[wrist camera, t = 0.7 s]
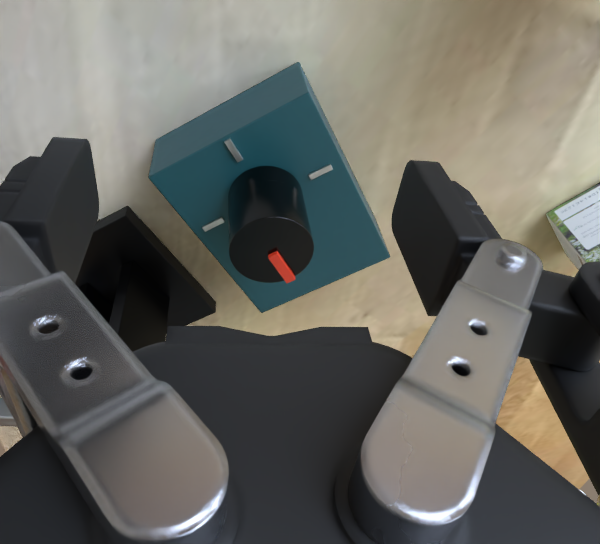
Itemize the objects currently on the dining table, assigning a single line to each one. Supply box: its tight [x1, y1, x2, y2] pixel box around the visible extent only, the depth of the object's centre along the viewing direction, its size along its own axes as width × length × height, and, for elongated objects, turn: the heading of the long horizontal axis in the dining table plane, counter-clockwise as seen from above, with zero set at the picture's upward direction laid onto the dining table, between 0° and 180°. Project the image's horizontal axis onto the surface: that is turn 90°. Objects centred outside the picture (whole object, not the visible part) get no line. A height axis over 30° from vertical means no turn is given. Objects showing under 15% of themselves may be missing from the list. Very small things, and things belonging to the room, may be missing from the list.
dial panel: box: [148, 62, 390, 313], centre depth 33 cm, size 13×10×5 cm
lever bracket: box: [75, 206, 216, 352], centre depth 33 cm, size 11×9×14 cm
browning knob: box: [228, 166, 314, 283], centre depth 28 cm, size 4×4×5 cm
